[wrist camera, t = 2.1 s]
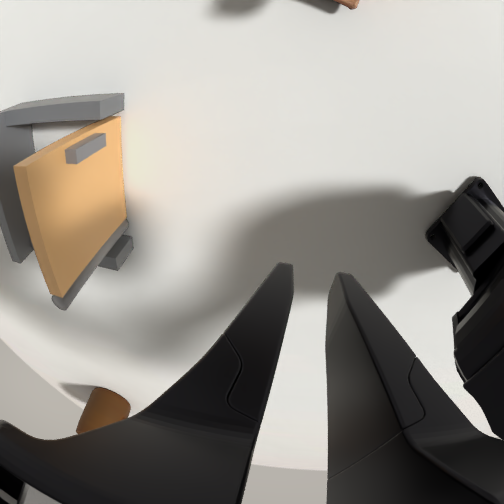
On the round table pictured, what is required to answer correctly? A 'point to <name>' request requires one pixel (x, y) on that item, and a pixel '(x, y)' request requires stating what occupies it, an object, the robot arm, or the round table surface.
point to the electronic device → (349, 3)
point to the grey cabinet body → (21, 146)
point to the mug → (103, 410)
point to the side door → (74, 204)
